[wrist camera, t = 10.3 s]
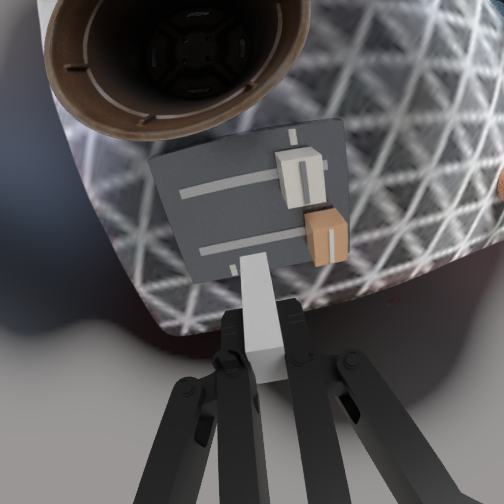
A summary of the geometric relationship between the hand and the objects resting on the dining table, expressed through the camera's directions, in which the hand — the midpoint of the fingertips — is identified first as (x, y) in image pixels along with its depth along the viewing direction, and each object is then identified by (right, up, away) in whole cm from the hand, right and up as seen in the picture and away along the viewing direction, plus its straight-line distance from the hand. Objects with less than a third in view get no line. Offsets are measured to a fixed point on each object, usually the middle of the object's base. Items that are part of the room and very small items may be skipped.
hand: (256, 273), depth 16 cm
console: (+1, +7, +17) cm, 19 cm away
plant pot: (-6, +23, +7) cm, 25 cm away
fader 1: (+5, +10, +13) cm, 17 cm away
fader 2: (+8, +4, +17) cm, 19 cm away
